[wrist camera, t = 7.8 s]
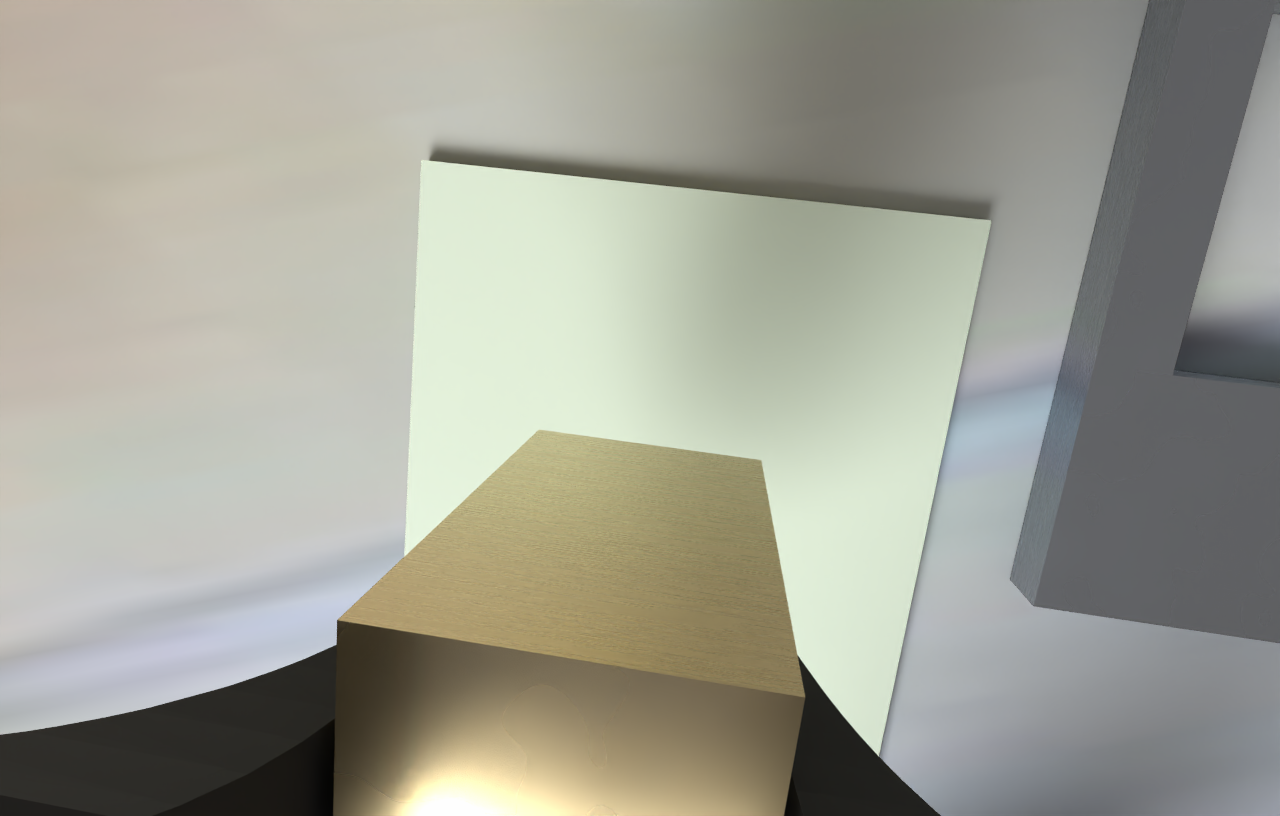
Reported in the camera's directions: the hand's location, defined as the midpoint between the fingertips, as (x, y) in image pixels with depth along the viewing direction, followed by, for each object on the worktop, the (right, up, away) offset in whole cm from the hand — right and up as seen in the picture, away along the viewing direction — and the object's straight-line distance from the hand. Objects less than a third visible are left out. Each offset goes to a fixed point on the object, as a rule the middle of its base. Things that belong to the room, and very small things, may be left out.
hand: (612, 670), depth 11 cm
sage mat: (+1, +2, +8) cm, 9 cm away
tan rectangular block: (0, +1, +2) cm, 2 cm away
